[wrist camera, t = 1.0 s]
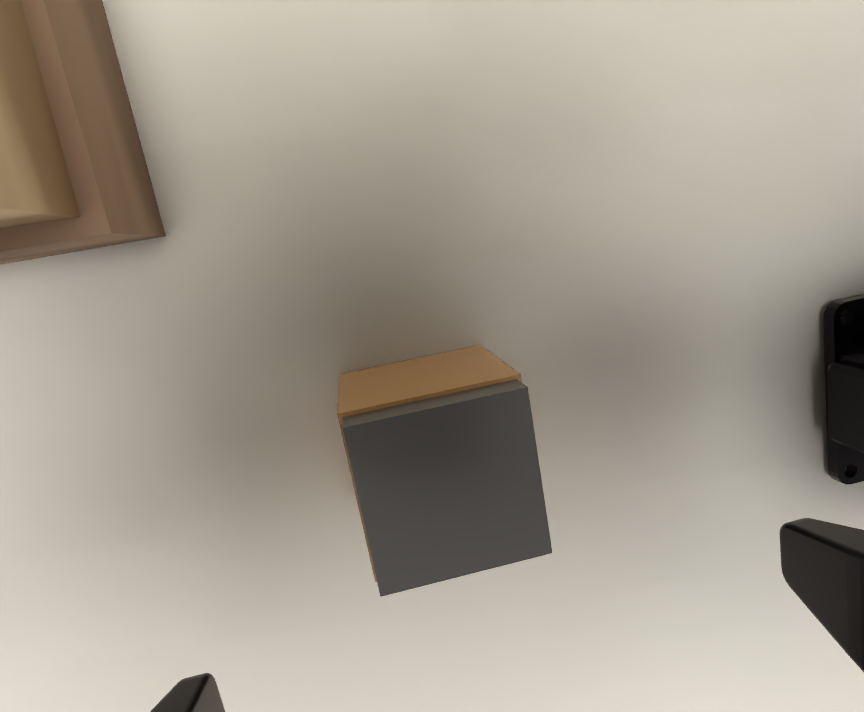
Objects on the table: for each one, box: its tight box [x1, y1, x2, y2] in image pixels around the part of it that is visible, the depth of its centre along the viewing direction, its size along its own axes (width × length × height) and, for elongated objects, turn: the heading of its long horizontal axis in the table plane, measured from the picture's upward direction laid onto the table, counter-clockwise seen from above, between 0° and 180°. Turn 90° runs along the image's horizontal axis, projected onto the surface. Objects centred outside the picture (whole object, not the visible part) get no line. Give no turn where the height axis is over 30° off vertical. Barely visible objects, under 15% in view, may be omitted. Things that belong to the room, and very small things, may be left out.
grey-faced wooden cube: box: [337, 345, 552, 596], centre depth 15 cm, size 4×4×5 cm
